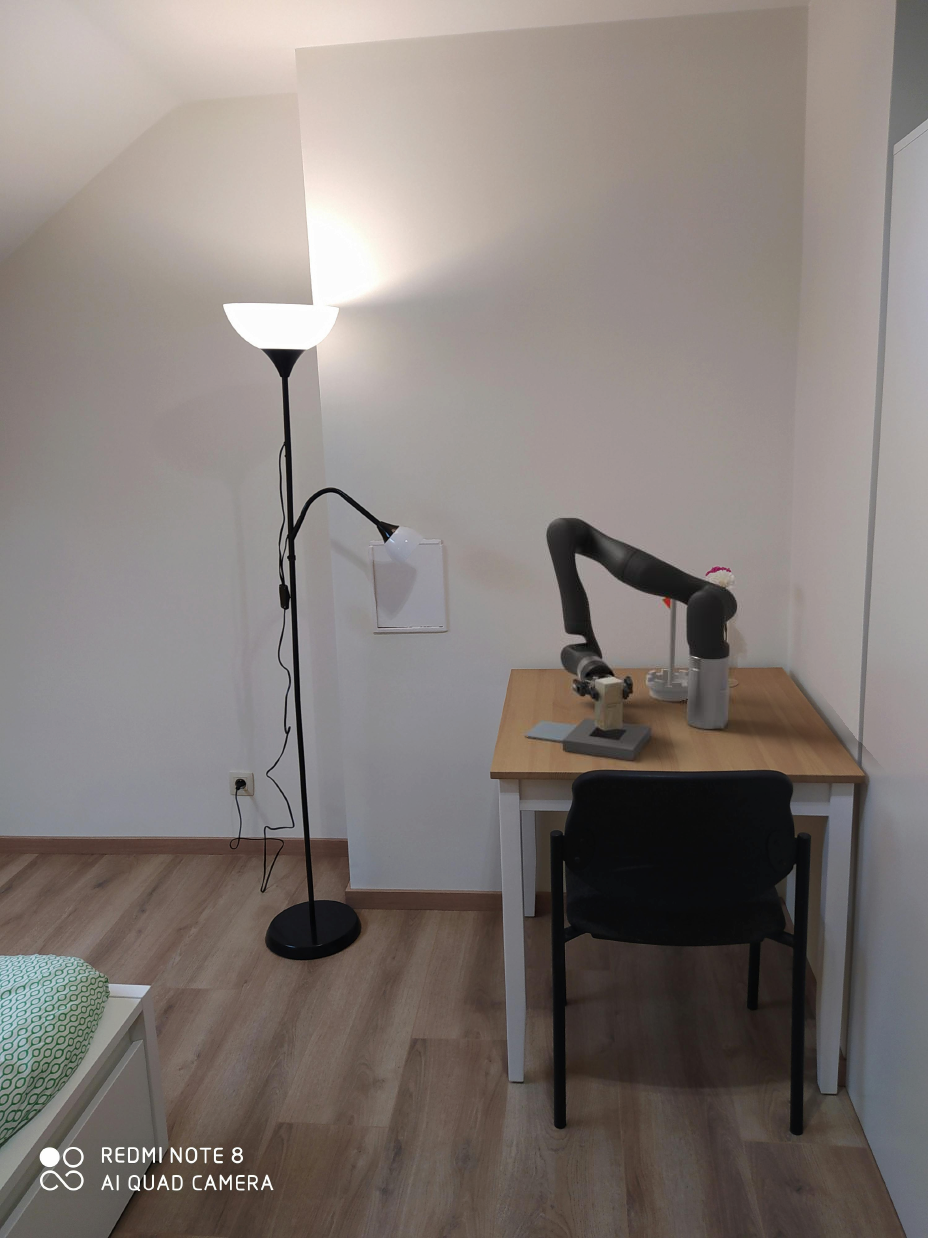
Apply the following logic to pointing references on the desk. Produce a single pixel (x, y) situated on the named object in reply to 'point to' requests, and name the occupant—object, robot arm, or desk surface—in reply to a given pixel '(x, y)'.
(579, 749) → the socket block
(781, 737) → the desk surface
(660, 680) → the flag stand
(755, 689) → the desk surface
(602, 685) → the box
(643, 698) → the desk surface
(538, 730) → the pad
